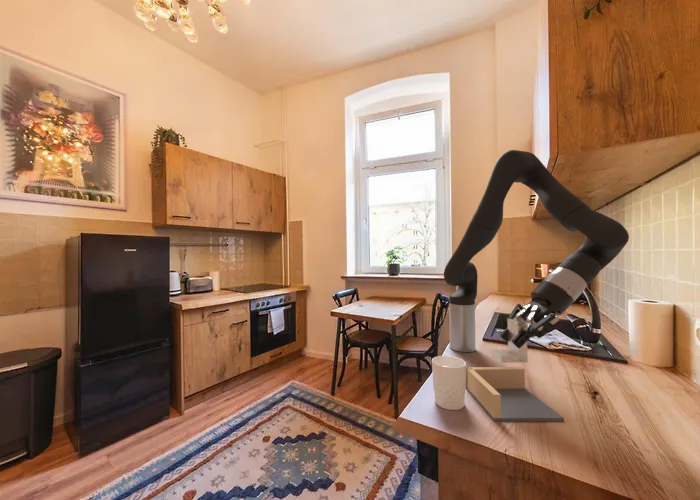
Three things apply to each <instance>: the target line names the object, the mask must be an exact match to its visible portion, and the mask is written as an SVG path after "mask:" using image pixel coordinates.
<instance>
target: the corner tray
mask: <svg viewBox="0 0 700 500" xmlns="http://www.w3.org/2000/svg"><path fill="white" fill-rule="evenodd" d="M525 373H526V370H525V368H523V367H522V366H495V367H494V366H487V367H483V366H478V367H477V366H472V367H471V366H469V367H467V366H466V386H465V390H466V391H467V392H468V393H469V394H470V395H471V396H472V398H473V399H474V400H475V401H476V402H477V403H478V404H479V405H480V407H481V408H482V409H483V410H484V411H485V412H486V413H487V415H488V416H489V417H490V418H491V419H492V420H493V421H494V422H537V421H539V422H546V421H547V422H548V421H549V422H550V421H551V422H553V421H554V422H555V421H556V422H559V421H560V422H562V421H565V418H564V417H563V416H562V415H561V414H559V413H558V412H557V411H555V410H554V409H553V408H551V407H550V406H549V405H547V403H545V402H543V401H542V400H541V399H540V398H538V396H536V395H535V394H533V393H532V392H530V391H529V390H528V389H526V374H525Z"/></svg>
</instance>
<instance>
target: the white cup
mask: <svg viewBox="0 0 700 500" xmlns="http://www.w3.org/2000/svg"><path fill="white" fill-rule="evenodd" d="M466 367H467V362H466V361H465V360H464V359H462V358H458V357H455V356H450V355H438V356H434V357H432V359H431V368H432V369H431V370H432V371H431V372H432V385H433V392H434V393H433V394H434V403H435V404H436V405H437V406H439V407H440V408H442V409H444V410H448V411H458V410H461V409H462V410H463V408H464V407H465V394H466Z"/></svg>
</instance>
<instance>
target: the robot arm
mask: <svg viewBox="0 0 700 500" xmlns="http://www.w3.org/2000/svg"><path fill="white" fill-rule="evenodd" d="M514 183H520V184H522V185H524V186H527V187H528V188H529V189H531V190H532V191H533V192H534V193H535V194H536V195H537V197H538V198H539V199H540V201H541V204H542V205H543V206H544V209H545V210H546V211H547V212H548V213H549V215H550V216H551V217H552V218H554V219H555V221H557V222H558V223H559V224H560V225H561V226H562V227H564V228H565V229H566V230H567V231H569V232H578V231H579V232H580V233H581V234H583V235H584V236H585V237H586V239H585V240H584V242H583V243H582V244H581V245H580V246H579V248H578V249H577V250H576V251H575V252H573V253H571V254H569V255H568V256H567V257H566V258H564V260H563V261H562V262H561V263H559V264H558V266H557V267H556V268H554V270H553V271H551V272H550V273H549V274H547V276H545V277H544V279H542V280H541V282H540V283H539V284H538V285H537V286H536V287H535V288H534V289H533V290H532V291H531V292H530V298H531V300H530V301H529V302H528V303H526V304H525V305H522V304H520V303H517V304H516V305H515V307H514V308H513V309H512V311H511V312H510V313H509V316H508V317H507V318H506V320H507V319H517V320H519V321H522V322H525V323H527V324H526V325H525V327H524V328H523V330H524V331H523V330H521V331H520V332H519V333H518V334H517V335H516V336H515V337H514V338H513V339H512V341H511V342H512V343H513V344H514V345H515V346H516V347H517V348H521V347H522V346H523V345H524V344H525V343H526V342H527V343H528V341H529V340H530V339H531V338H535V337H537V339H541V338H542V337H544V336H546V335H547V334H549V332H551V331H552V330H553V329H556V327H558V326H559V325H561V324H562V320H561V319H560V318H559V316H561V315H563V314H564V313H565V311H567V310H568V309H569V307H571V306H572V304H573V303H574V302H576V300H577V299H578V298H579V297H580V296H581V295H582V294H583V292H584V290H585V289H586V288H587V287H588V286H589V284H590V283H592V282H593V281H594V279H595V278H596V277H597V276H598V274H599V273H600V272H601V271H602V270H603V269H604V268H605V267H607V265H609V264H610V263H611V262H612V261H613V260H614V259H615V258H616V257H617V256H619V254H620V253H621V252H622V250H623V249H624V247H625V246H626V245H627V243H628V242H629V239H630V236H629V232H628V230H627V229H626V227H625V226H624V225H622V223H620V222H618V220H615V219H613V217H612V218H611V217H610V216H607V215H605V214H603V213H601V212H599V211H596V210H594V209H593V208H591V207H590V206H589V205H587V204H586V203H585V202H584V201H582V200H581V199H580V198H578V197H577V196H576V195H575V194H574V193H572V191H570V190H568V189H567V188H566V187H565V186H564V185H563V184H562V183H561V182H560V181H559V180H558V179H556V177H555V176H553V175H552V173H551V172H550V171H549V170H548V169H547V168H546V166H545V165H544V164H543V163H542V161H541V160H540V159H539V158H538V157H537V156H536V155H535V154H534V153H533V152H530V151H525V150H517V149H509V150H507V151H504V152H503V153H502V154H501V155H500V156H499V158H498V159H497V161H496V162H495V165H494V167H493V169H492V172H491V175H490V177H489V180H488V183H487V185H486V188H485V190H484V193H483V195H482V197H481V200H480V202H479V203H478V206H477V208H476V210H475V211H474V213H473V215H472V218H471V219H470V222H469V224H468V226H467V228H466V230H465V232H464V234H463V237H462V238H461V240H460V242H459V244H458V246H457V248H456V250H455V251H454V253H452V255H451V257H450V259H449V260H448V262H447V263H446V266H445V267H444V272H443V278H444V281H445V283H446V284H447V285H449V286H452V287H457V289H456V291H455V292H453V293H451V294H450V295H449V297H448V311H449V316H448V317H449V322H448V323H449V348H450V349H451V350H453V351H456V352H461V353H471V352H472V353H473V352H475V351H476V348H477V347H476V299H477V295H478V270H477V267H476V266H475V264H474V263H473V262H471V260H473V258H474V257H475V256H476V255H477V254H479V253H480V252H481V251H482V250H484V249H485V248H486V247H487V246H488V245H489V244H491V242H492V241H493V240H494V239H495V238H496V236H497V233H498V231H499V229H500V227H501V226H502V224H503V219H504V203H505V199H506V197H507V195H508V193H509V191H510V189H511V188H512V186H513V185H514ZM499 336H500V337H499V338H501V339H503V341H505V342H507V343H508V326H507V327H505V329H504V330H503V331H502V332H501V333H500V334H499Z"/></svg>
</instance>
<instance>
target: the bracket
mask: <svg viewBox="0 0 700 500" xmlns="http://www.w3.org/2000/svg"><path fill="white" fill-rule="evenodd" d="M506 321H507V327H508V342H507V349H491V357H493V358H495V359H496V360H497V361H498V362H500V363H502V364H504V363H508V364H509V363H510V364H511V363H512V364H513V363H529V362H528V341H527V342H526V343H525V344H524V345H523V346H522V347H521V348H517V347H516V346H515V345H514V344H513V343H512V342H511V341H512V339H513V338H514V337H515V336H516V335H517V334H518V333H519V332H520V331H521V330H523V328H524V327H525V325H526V324H527V323H525V322H522V321H519V320H517V319H514V318H513V319H507V318H506ZM523 331H524V330H523Z"/></svg>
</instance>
